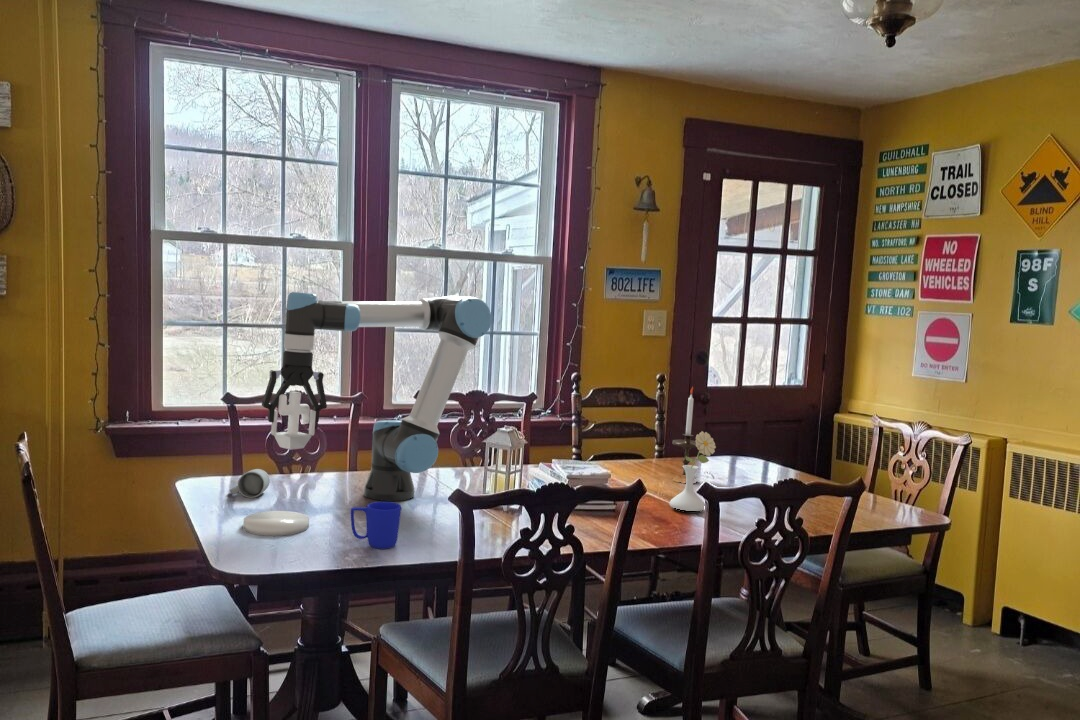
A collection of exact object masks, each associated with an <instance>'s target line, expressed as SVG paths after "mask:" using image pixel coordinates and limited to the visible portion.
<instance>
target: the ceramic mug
mask: <svg viewBox="0 0 1080 720" xmlns="http://www.w3.org/2000/svg"><path fill="white" fill-rule="evenodd" d="M238 478H239V479H238V481H237V486H235V487H232V488H231V489H229V492H230V494H231V495H236V494H238V493H240V494H241V496H242V497H245V498H246V499H247V498H248V499H254V498H258V497H259V496H260V495H262V494H263V493H264V492H265V491H266V490H267V489H268V487H269V486H270V483H271V481H270V480H271V479H270V476H269V474H268V473H267V472H266V471H265V470H264V469H261V468H255V469H251V470H249V471H246V472H244V473H243V474H241V476H240V477H238Z"/></svg>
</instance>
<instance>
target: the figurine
mask: <svg viewBox="0 0 1080 720" xmlns="http://www.w3.org/2000/svg"><path fill="white" fill-rule="evenodd" d="M287 396H288V395H286V394H285V393H284V394H281V395H280V396H279V403H278V405H277V406H278V410H277V411H278V414H279V415H280V416H288V417H287V419H288V420H287V431H280V432H278V431H276V435H273V436H274V438H275V440H276V442H277V444H278V447H280V448H282V449H286V450H291V451H292V450H298V449H304V448H305V446H307V445H308V442H309V441H310V439H311V438H312V436H313V435H310V434H309V433H306V432H301V431H299V425H300V415H301V423H302V424H304V425H305V424H306V425H308V424H309V422H310V410H311V408H310V406H309V404H307V403H301V400H302V397H301V396H302V392H299V391H296V390H294V391H293V390H291V391H289V396H288V397H287ZM288 402H289V403H288Z"/></svg>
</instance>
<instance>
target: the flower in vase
mask: <svg viewBox="0 0 1080 720" xmlns="http://www.w3.org/2000/svg"><path fill="white" fill-rule="evenodd" d="M694 441H695V442H696V447H697V450H698V452H697V456H696V458H695V459H694V458H690V457H689V456H688V457H687V456H686V460H687V461H690V462H689V463H692V465H691V464H690V465H689V464H688V465H684V464H683V465H682V467H683V468H682V469H684V470H685V473H686V484H685V486H684V489H683V490H682V491H681V492H679V494H677V495H675V496H674V497H673V498H671V500H670V501H669V502H668V504H669V506H670V507H671V508H673V509H674V508H676V509H675V510H677V509H680V510H686V511H700V510H701V511H700V512H703V511H705V510H704V506H705V504H706V503H705V502H704V500H703V499H701V497H700V496H699V495H698V494H697V493H696V492H695V491H694V484H693V480H694V478H695V475H696V473H697V471H698V470H699V469H700V467H699V466H697V465H695V463H696V461H697V460H698V461H699V462H700V463H702V464H706V463H708V462H709V461H710V460H709V458H708V457H711V455H713V454H714V453H715V452H716V451H715V449H716V448H717V446H716V443H715V441H714V438H713V437H711V434H710V433H708V432H707V431H705V432H704V431H703V430H701V432H699V434H698V433H697V434H696V436H695V440H694ZM700 454H701V455H700ZM680 510H679V511H680ZM702 510H703V511H702Z"/></svg>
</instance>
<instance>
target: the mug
mask: <svg viewBox="0 0 1080 720" xmlns="http://www.w3.org/2000/svg"><path fill="white" fill-rule="evenodd" d="M356 511H361V512H364V513H365V519H366V522H365V523H366V532H365V533H366V534H365V535H360V534H358V533H357V530H356V527H355V515H354V514H355V512H356ZM401 513H402V505H401V504H399V503H397V502H394V501H374V502H370V503H368V504H367V506H366V507H365V506H363V507H361V506H360V507H358V506H357V507H354V506H353V507H351V508H350V524H351V531H352V534H353V536H354V537H355V538H356V539H358V540H362V539H366V538H367V542H368V545H369V546H370V547H372V548H374V549H379V550H381V549H382V550H384V549H385V550H386V549H391V548H393V547H395V546H396V545H397V542H398V536H399V535H398V534H399V527H400V522H401Z"/></svg>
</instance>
